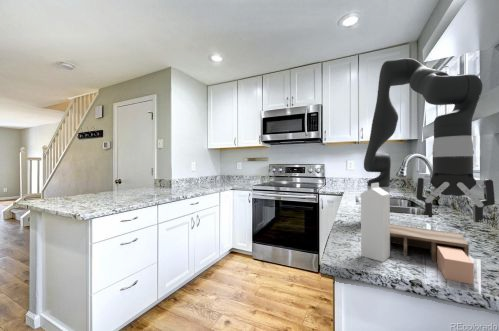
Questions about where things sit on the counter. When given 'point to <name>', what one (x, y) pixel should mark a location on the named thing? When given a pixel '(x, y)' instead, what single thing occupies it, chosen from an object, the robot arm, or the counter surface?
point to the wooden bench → (427, 239)
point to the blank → (455, 264)
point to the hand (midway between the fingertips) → (451, 219)
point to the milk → (375, 223)
